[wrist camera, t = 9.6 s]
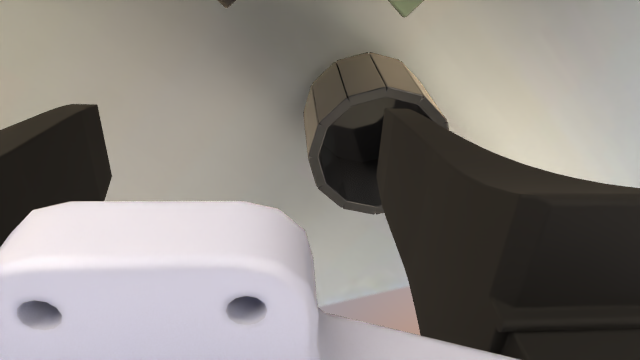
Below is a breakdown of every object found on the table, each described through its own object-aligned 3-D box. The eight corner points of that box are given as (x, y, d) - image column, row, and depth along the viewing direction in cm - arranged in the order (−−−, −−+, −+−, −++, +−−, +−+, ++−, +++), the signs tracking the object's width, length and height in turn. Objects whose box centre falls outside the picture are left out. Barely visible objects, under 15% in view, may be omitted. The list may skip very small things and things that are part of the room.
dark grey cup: (442, 104, 23) (477, 153, 19) (357, 175, 24) (373, 235, 20) (367, 21, 21) (389, 57, 16) (280, 106, 22) (280, 158, 18)
